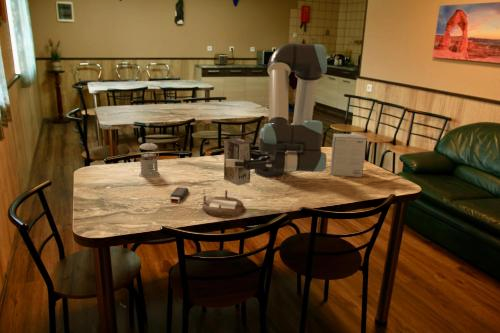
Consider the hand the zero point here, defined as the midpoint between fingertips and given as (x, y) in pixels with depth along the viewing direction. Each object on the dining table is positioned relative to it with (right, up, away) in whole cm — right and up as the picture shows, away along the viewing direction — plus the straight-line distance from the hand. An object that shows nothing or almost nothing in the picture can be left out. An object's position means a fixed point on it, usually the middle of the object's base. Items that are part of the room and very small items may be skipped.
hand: (226, 158), depth 154 cm
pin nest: (-2, -19, +6) cm, 21 cm away
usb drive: (-21, -16, +15) cm, 31 cm away
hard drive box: (+57, -7, +51) cm, 77 cm away
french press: (-39, -7, +40) cm, 56 cm away
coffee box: (+4, -9, +3) cm, 10 cm away
